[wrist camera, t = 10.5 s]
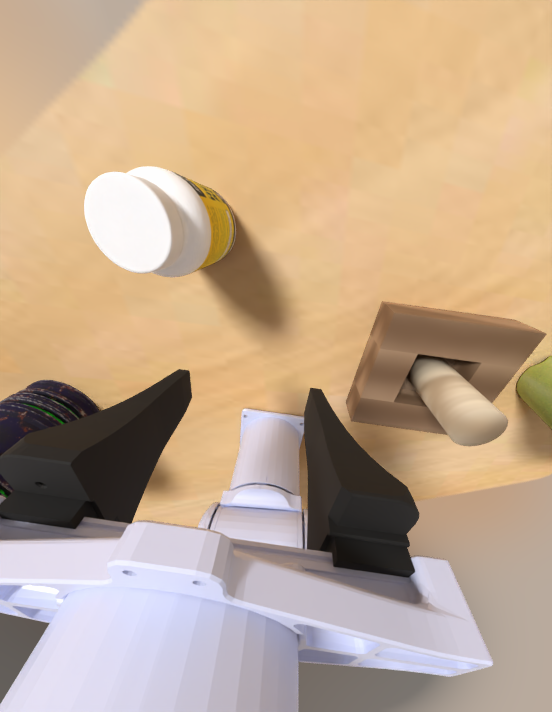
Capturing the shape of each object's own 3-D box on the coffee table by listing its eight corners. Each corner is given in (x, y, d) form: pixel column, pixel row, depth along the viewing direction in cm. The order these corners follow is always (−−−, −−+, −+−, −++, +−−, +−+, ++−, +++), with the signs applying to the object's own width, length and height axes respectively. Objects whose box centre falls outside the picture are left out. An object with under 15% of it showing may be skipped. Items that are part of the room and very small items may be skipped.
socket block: (448, 416, 27) (464, 437, 24) (345, 401, 27) (351, 421, 24) (515, 319, 21) (546, 333, 18) (382, 301, 21) (394, 312, 18)
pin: (434, 383, 24) (491, 448, 17) (399, 380, 24) (441, 443, 17) (448, 353, 22) (519, 412, 15) (410, 350, 22) (463, 407, 15)
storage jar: (111, 438, 33) (-6, 573, 20) (45, 429, 34) (-111, 558, 21) (89, 384, 28) (-83, 518, 15) (12, 374, 29) (-222, 498, 16)
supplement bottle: (240, 192, 17) (186, 163, 9) (235, 267, 20) (190, 299, 12) (169, 179, 17) (47, 137, 9) (173, 255, 20) (84, 279, 12)
